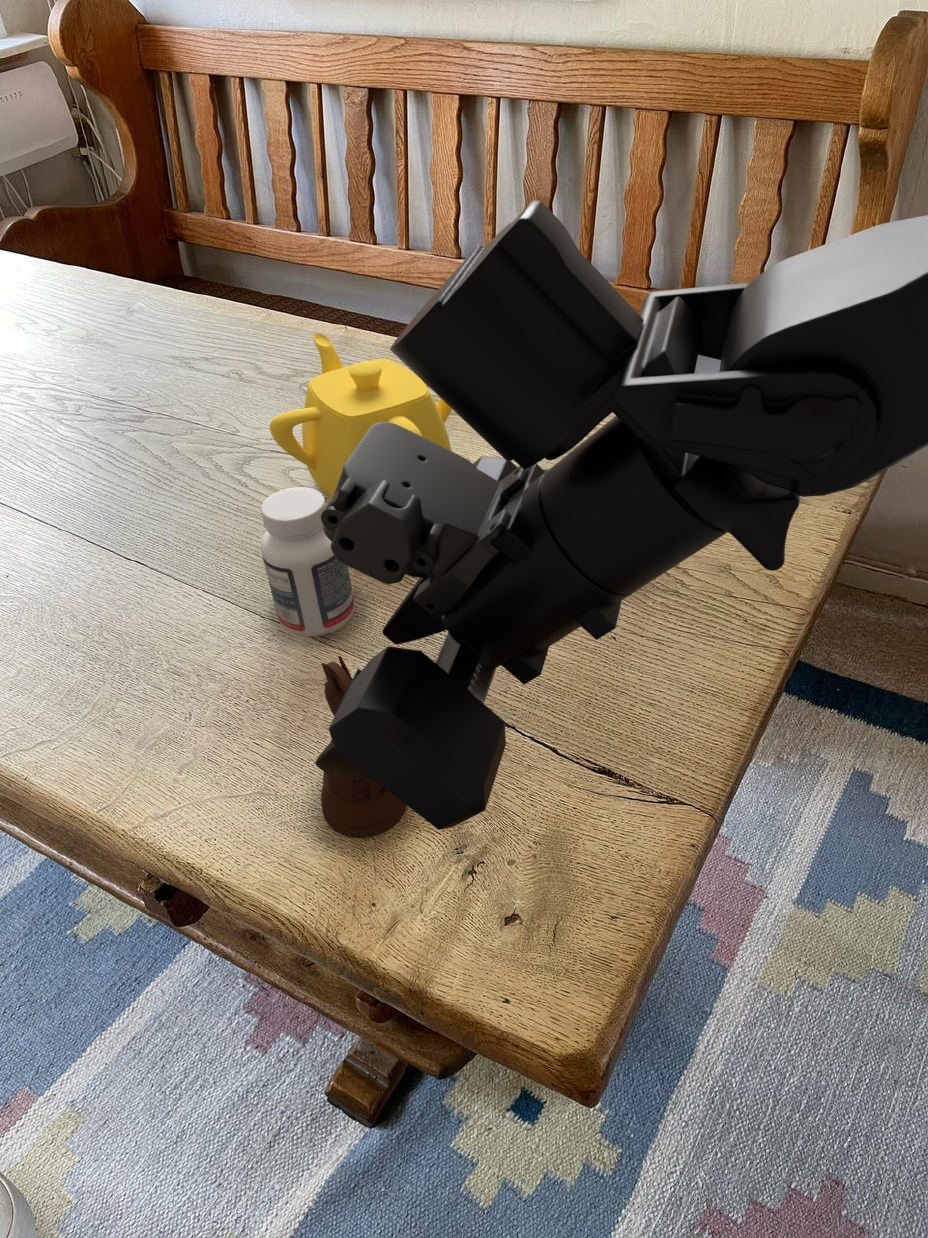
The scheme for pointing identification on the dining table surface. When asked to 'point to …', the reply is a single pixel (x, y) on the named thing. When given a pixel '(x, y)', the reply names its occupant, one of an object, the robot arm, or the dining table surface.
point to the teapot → (355, 412)
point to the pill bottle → (304, 565)
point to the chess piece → (354, 782)
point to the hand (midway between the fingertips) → (359, 697)
